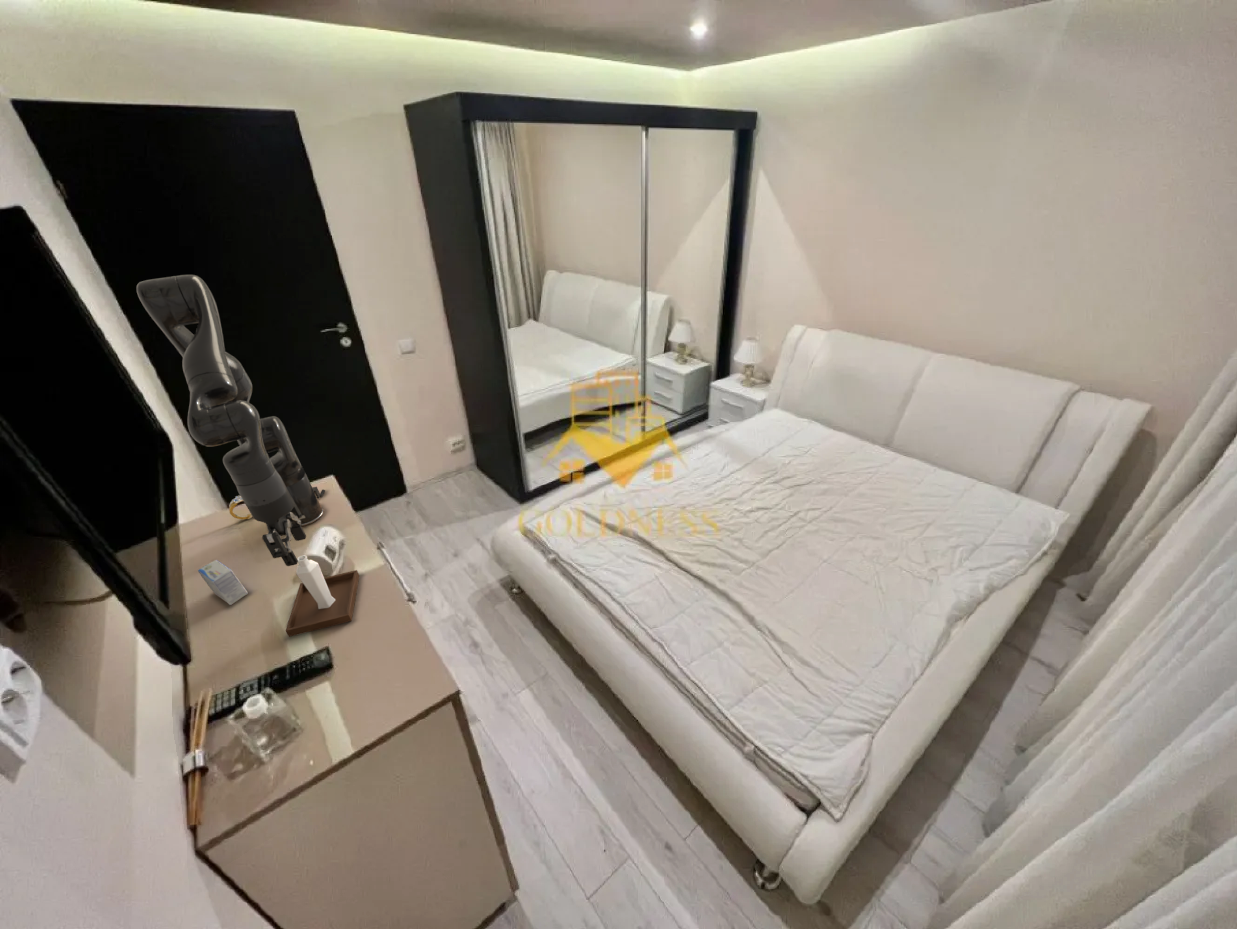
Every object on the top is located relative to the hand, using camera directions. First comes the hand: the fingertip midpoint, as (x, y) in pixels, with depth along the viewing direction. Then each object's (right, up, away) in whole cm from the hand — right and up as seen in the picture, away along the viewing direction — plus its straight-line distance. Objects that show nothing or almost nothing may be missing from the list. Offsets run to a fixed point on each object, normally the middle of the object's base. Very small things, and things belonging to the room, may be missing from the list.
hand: (297, 551), depth 107 cm
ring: (-41, +3, +40) cm, 57 cm away
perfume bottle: (+1, -15, +9) cm, 17 cm away
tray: (+1, -15, +10) cm, 18 cm away
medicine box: (-26, -14, +14) cm, 32 cm away
